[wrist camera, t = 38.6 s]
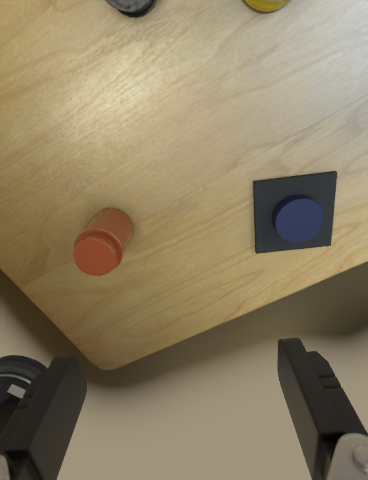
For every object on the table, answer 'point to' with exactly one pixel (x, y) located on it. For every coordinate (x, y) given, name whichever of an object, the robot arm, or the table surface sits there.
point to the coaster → (277, 189)
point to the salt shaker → (133, 7)
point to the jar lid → (297, 218)
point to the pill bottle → (265, 5)
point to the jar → (103, 242)
